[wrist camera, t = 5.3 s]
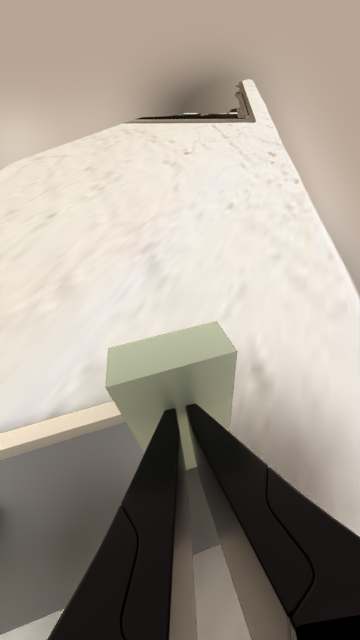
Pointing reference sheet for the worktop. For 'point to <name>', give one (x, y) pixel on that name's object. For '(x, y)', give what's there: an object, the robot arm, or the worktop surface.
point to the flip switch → (173, 380)
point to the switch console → (68, 506)
